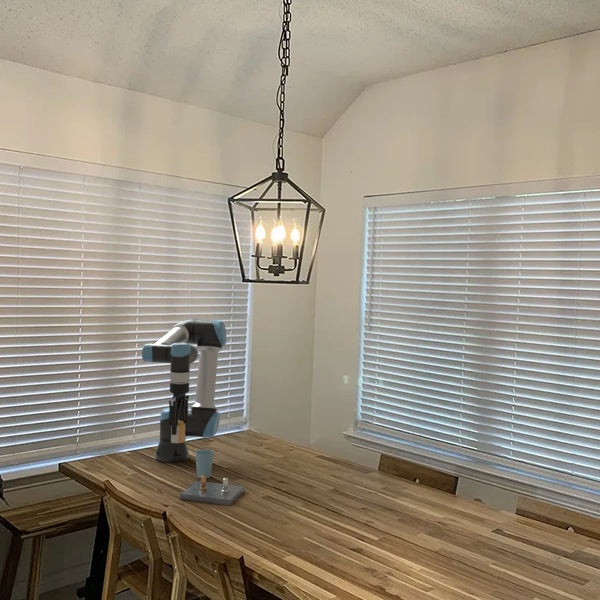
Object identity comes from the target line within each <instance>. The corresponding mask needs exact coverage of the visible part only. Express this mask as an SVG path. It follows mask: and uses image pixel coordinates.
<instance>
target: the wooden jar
mask: <svg viewBox="0 0 600 600" xmlns="http://www.w3.org/2000/svg"><path fill="white" fill-rule="evenodd" d="M178 426H179V436H178V443H183V442H185V441H186V437H185V423H183V421H181V420H178ZM171 429H172V426H171Z"/></svg>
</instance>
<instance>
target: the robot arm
mask: <svg viewBox="0 0 600 600" xmlns="http://www.w3.org/2000/svg"><path fill="white" fill-rule="evenodd" d="M193 344H194V345H193ZM226 344H227V329H226V325H225V323H224V322H223V320H218V319H197V318H196V319H195V318H190V319H186V320H183V321H180V322H178V323H176V324H175V325H173V326H171V327H170V329H169V331H168V332H167V333H166V334H165V335H164V336H163V337H161V338H160V339H158V341H155V343H146V344H144V345H143V346H142V349H141V358H142V361H144V362H146V363H153V364H156V363H157V364H170V372H169V392H170V393H172V400H169V401H168V405H169V407H166V408H164V409H162V410H161V411H160V419H159V441H158V445H157V448H156V450H155V454H154V455H155V456H154V459H155V460H156V461H158V462H162V463H178V462H179V463H180V462H184V461H187V460H188V459H189V456H190V453H189V448H188V445H187V443H186V440H185V442H183V443H178V436H179V426H178V420H181V421H183V423H185V438H187V437H188V438H190V437H191V438H193V437H194V438H204V439H205V438H213V437H215V436H216V434H217V432H218V429H219V426H220V421H221V415H220V414H221V413H220V412H219V411H218V408H217V407H216V405H215V394H216V382H217V372H218V371H217V370H218V359H219V353H220V352H221V351H222V349H223V346H224V347H225V345H226ZM195 345H196V346H195ZM197 359H198V368H197V378H196V387H195V388H196V390H195V400H194V403H193V404H192V405H191V408H190V410H189V398H190V396H189V395H187V393H189V392H190V383H189V382H190V374H191V372H190V371H191V369H190V367H191V364H192V363H193V364H194V362H196V361H197ZM171 426H172V429H171Z"/></svg>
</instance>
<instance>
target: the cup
mask: <svg viewBox="0 0 600 600" xmlns="http://www.w3.org/2000/svg"><path fill="white" fill-rule="evenodd" d="M214 454H215V452H214V450H211V449H198V450H196V451H195V454H194V455H195V464H196V465H195V466H196V477H197V478H198V479H201V476H202V475H206V479H210V478H211V475H212V469H213V462H214V456H215V455H214Z"/></svg>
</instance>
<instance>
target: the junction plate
mask: <svg viewBox="0 0 600 600" xmlns="http://www.w3.org/2000/svg"><path fill="white" fill-rule="evenodd" d="M200 479H201V480H197V481H195V482H193V483H192V484H191V485H189V486H188V487H187V488H186V489H184V490H183V491H182V492H180V493H179V499H180V500H185V501H191V502H192V501H194V502H202V503H209V504H217V505H224V506H231V505H233V504H234V502H235V501H237V499H239V498H240V497H241V495H242V494H244V493H245V486H243V485H241V486H240V485H235V484H229V478H228V477H223V478H222V479H223V480H222V483H218V482H209V481H207V478H206V475H202V476H201V478H200Z"/></svg>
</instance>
